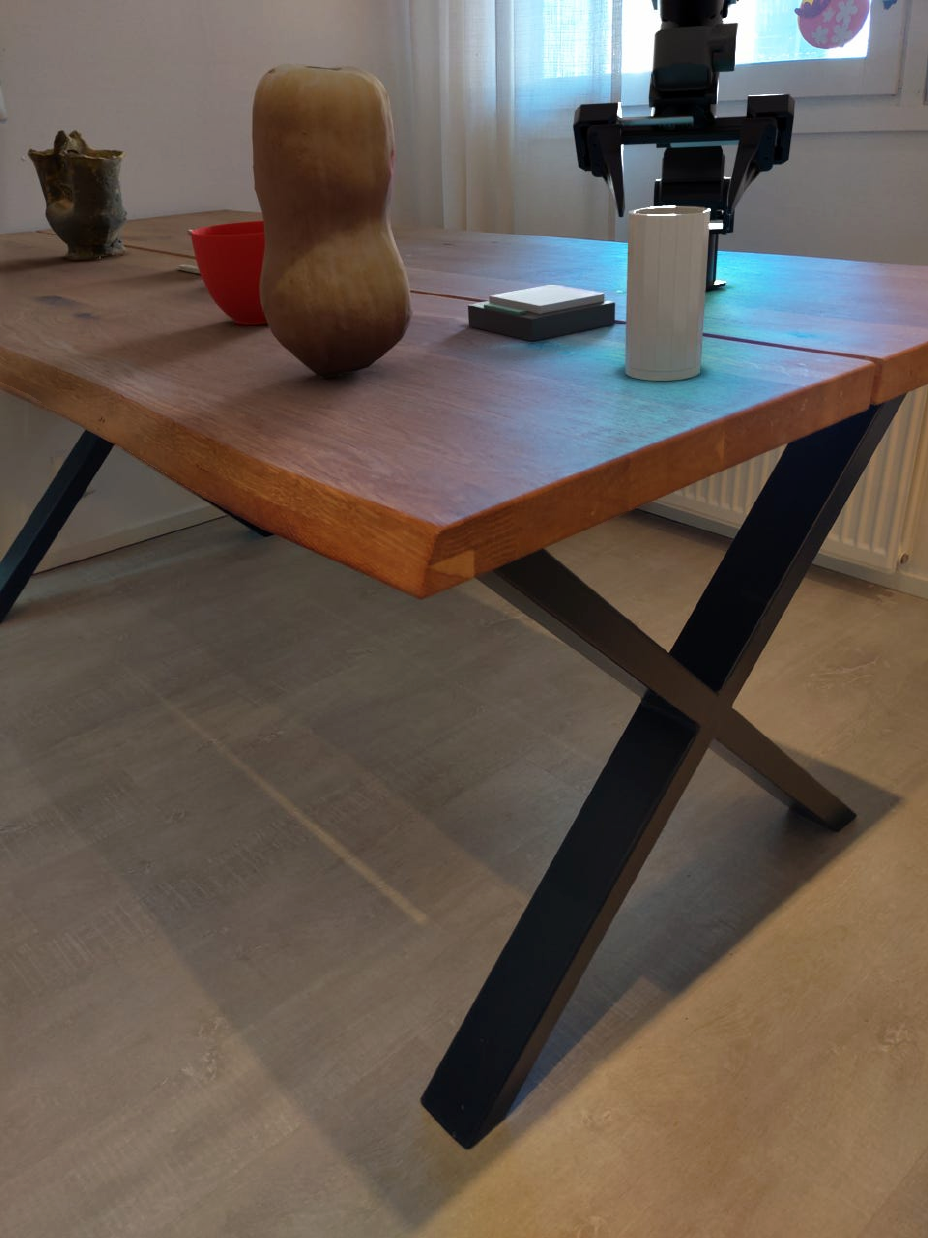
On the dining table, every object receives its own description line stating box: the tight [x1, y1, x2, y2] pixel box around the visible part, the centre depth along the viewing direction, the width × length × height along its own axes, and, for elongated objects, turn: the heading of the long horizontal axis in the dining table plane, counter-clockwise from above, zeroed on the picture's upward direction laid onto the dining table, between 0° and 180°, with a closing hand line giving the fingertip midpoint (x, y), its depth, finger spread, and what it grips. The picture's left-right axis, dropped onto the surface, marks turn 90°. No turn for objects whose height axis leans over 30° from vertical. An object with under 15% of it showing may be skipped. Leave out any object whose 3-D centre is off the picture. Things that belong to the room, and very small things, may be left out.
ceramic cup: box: [190, 220, 268, 326], centre depth 116 cm, size 13×17×10 cm
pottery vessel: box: [27, 129, 128, 261], centre depth 170 cm, size 25×11×20 cm, turn 40°
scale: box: [467, 284, 616, 342], centre depth 106 cm, size 11×11×3 cm
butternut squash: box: [251, 63, 413, 379], centre depth 87 cm, size 14×13×25 cm
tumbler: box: [624, 206, 710, 382], centre depth 84 cm, size 6×6×13 cm
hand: (674, 212), depth 87 cm, fingers open, 9 cm apart
